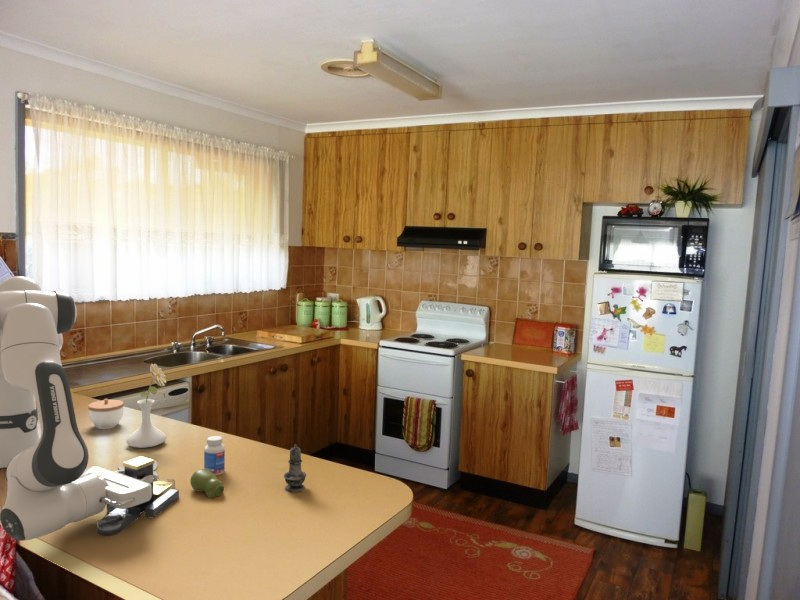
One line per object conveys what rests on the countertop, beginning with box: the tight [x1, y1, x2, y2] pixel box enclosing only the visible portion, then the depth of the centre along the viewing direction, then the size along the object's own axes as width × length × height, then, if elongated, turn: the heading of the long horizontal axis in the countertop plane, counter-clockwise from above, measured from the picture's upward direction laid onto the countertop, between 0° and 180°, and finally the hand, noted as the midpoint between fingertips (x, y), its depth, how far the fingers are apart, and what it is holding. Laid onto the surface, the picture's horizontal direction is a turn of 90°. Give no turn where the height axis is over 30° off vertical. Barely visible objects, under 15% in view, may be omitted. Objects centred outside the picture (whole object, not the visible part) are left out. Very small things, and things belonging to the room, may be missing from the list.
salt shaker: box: [283, 443, 307, 494], centre depth 153 cm, size 6×6×12 cm
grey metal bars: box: [96, 488, 180, 537], centre depth 137 cm, size 21×12×2 cm, turn 171°
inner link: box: [153, 477, 176, 501], centre depth 148 cm, size 10×5×2 cm, turn 171°
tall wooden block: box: [122, 455, 155, 514], centre depth 139 cm, size 5×5×12 cm
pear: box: [189, 468, 225, 499], centre depth 150 cm, size 6×5×10 cm
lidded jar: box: [87, 398, 125, 430], centre depth 198 cm, size 11×11×9 cm
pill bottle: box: [203, 435, 226, 476], centre depth 162 cm, size 6×5×10 cm
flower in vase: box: [126, 363, 167, 449], centre depth 181 cm, size 13×11×25 cm
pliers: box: [117, 459, 160, 481], centre depth 161 cm, size 10×2×15 cm
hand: (142, 474), depth 140 cm, fingers open, 5 cm apart
